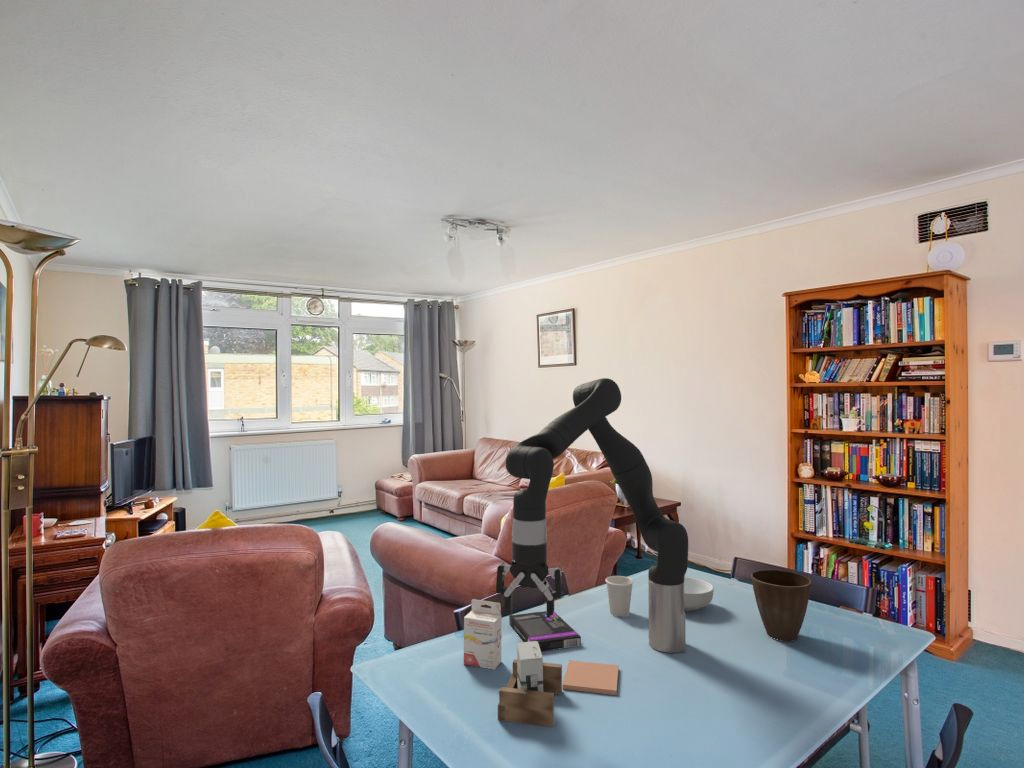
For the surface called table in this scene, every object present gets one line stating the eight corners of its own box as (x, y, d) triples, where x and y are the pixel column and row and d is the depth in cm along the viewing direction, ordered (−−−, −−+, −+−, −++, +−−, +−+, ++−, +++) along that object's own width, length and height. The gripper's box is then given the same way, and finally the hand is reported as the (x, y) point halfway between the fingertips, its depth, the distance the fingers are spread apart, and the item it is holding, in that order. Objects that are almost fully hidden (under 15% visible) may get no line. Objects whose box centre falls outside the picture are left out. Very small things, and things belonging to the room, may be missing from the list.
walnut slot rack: (561, 691, 127) (561, 664, 127) (552, 727, 113) (552, 696, 113) (512, 685, 129) (512, 659, 130) (497, 720, 116) (497, 690, 116)
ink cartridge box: (462, 665, 139) (462, 605, 140) (470, 656, 144) (470, 598, 144) (495, 670, 137) (495, 609, 137) (502, 661, 141) (502, 602, 142)
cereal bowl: (721, 617, 169) (721, 593, 169) (665, 617, 169) (665, 593, 169) (703, 596, 186) (703, 575, 186) (652, 596, 186) (652, 575, 186)
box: (581, 649, 150) (553, 620, 169) (581, 636, 150) (553, 608, 169) (531, 655, 146) (508, 625, 164) (531, 642, 146) (508, 613, 164)
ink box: (516, 694, 126) (516, 640, 126) (538, 693, 126) (538, 640, 126) (520, 717, 117) (520, 659, 117) (544, 715, 117) (543, 658, 118)
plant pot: (752, 642, 152) (751, 582, 152) (751, 621, 165) (750, 566, 166) (814, 651, 146) (814, 589, 146) (808, 629, 160) (807, 572, 160)
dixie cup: (613, 605, 178) (612, 573, 178) (637, 611, 173) (637, 578, 173) (600, 614, 171) (600, 581, 172) (626, 620, 166) (626, 586, 167)
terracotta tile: (618, 669, 137) (618, 665, 137) (616, 695, 125) (616, 690, 125) (569, 664, 140) (569, 660, 140) (562, 689, 128) (562, 684, 128)
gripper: (564, 536, 124) (564, 611, 124) (501, 533, 127) (501, 605, 127) (559, 545, 117) (559, 624, 117) (493, 541, 120) (492, 618, 120)
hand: (529, 614), depth 122 cm, fingers open, 8 cm apart
